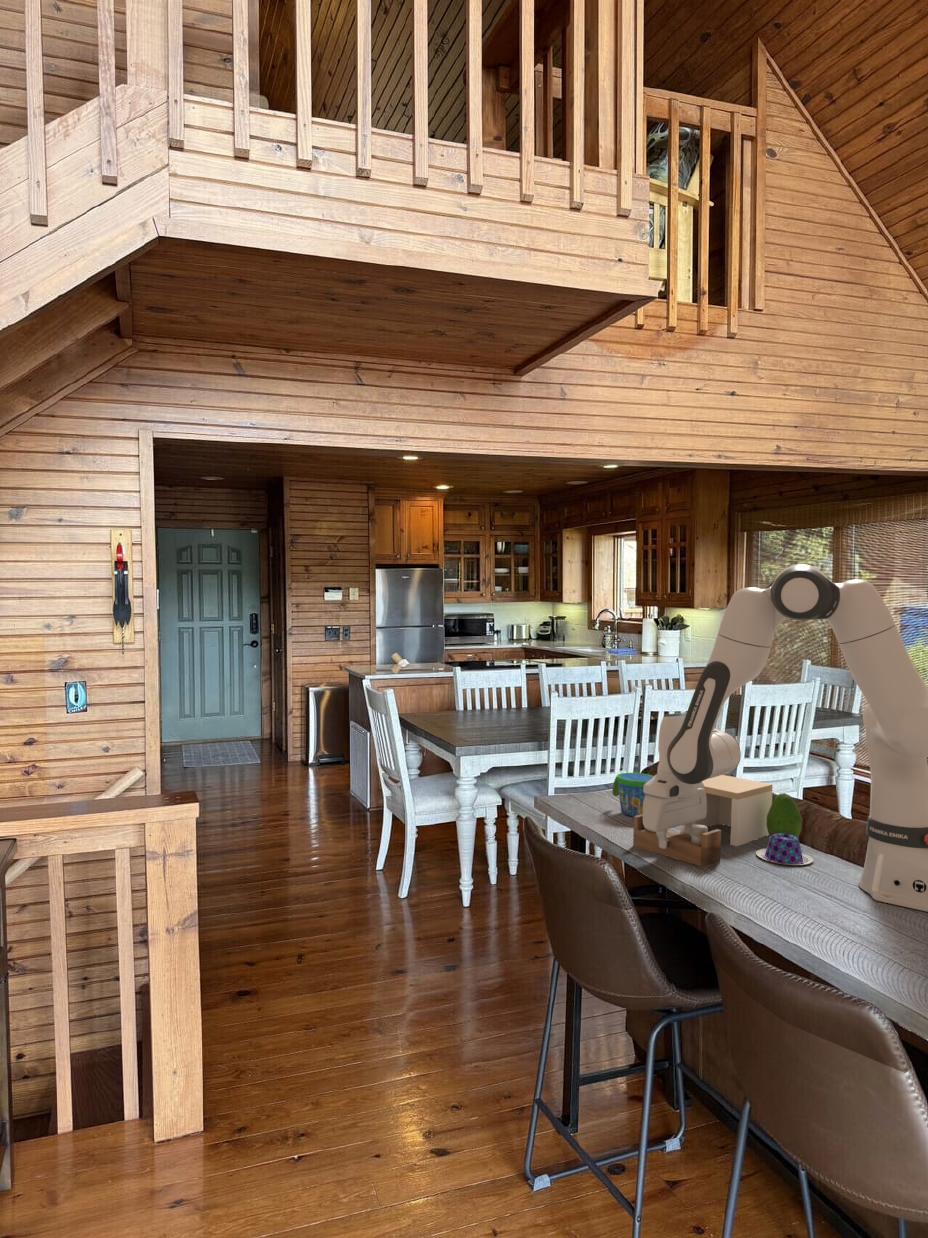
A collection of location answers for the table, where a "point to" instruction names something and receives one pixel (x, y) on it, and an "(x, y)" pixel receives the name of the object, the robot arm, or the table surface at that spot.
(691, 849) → the tray
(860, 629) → the robot arm
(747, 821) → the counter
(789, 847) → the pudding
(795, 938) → the table surface
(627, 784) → the snack cup
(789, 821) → the avocado
